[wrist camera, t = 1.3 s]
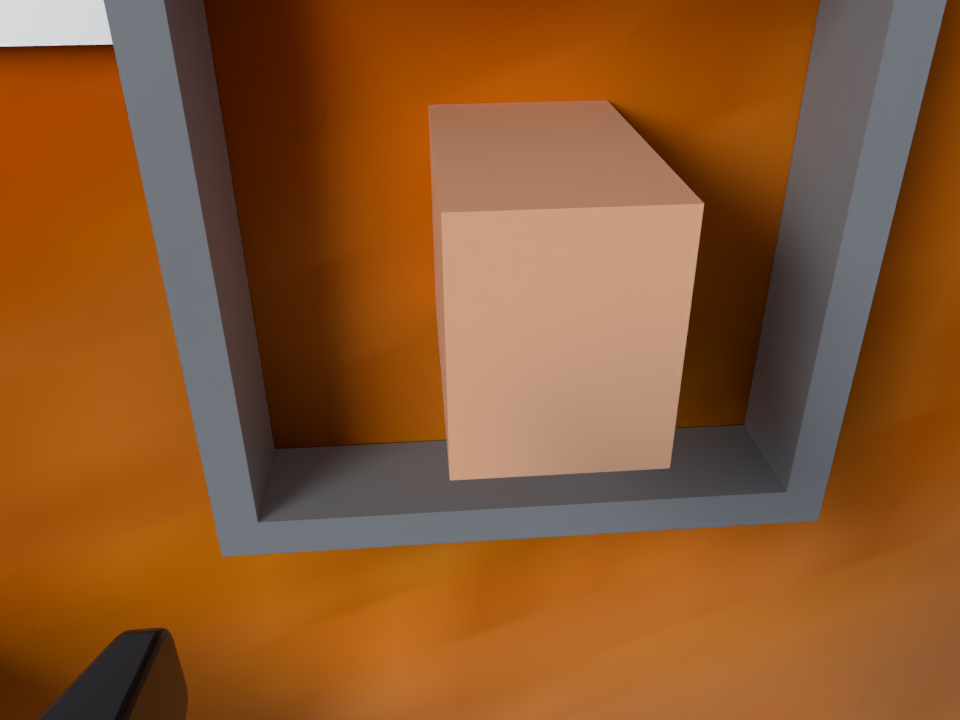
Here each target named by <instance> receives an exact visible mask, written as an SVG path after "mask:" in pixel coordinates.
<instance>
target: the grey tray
mask: <svg viewBox="0 0 960 720" xmlns="http://www.w3.org/2000/svg"><path fill="white" fill-rule="evenodd" d="M946 2H947V0H820V3H819V9H818V14H817V20H816V26H815V31H814V37H813V42H812V48H811V54H810V59H809V65H808V71H807V76H806V82H805V87H804V93H803V99H802V104H801V110H800V115H799V121H798V127H797V132H796V138H795V143H794V149H793V155H792V160H791V166H790V172H789V177H788V183H787V188H786V194H785V200H784V205H783V211H782V216H781V222H780V228H779V233H778V239H777V244H776V250H775V256H774V261H773V267H772V273H771V278H770V284H769V289H768V295H767V301H766V306H765V312H764V317H763V323H762V329H761V334H760V340H759V345H758V351H757V357H756V362H755V368H754V374H753V379H752V385H751V390H750V396H749V402H748V407H747V413H746V418H745V424H744V425H730V426H710V427H691V428H675V432H674V440H673V448H672V455H671V463H670V468H667V469H649V470H631V471H613V472H595V473H577V474H559V475H541V476H523V477H505V478H487V479H469V480H451V481H450V479H449V466H448V453H447V441H446V440H442V441H423V442H404V443H385V444H365V445H346V446H327V447H308V448H289V449H274V442H273V436H272V430H271V423H270V417H269V411H268V404H267V398H266V392H265V385H264V379H263V373H262V366H261V360H260V354H259V348H258V341H257V335H256V329H255V322H254V316H253V310H252V303H251V297H250V291H249V284H248V278H247V272H246V265H245V259H244V253H243V246H242V240H241V234H240V228H239V221H238V215H237V209H236V202H235V196H234V190H233V183H232V177H231V171H230V164H229V158H228V152H227V145H226V139H225V133H224V127H223V120H222V114H221V108H220V101H219V95H218V89H217V82H216V76H215V70H214V63H213V57H212V51H211V44H210V38H209V32H208V25H207V19H206V13H205V7H204V0H104V4H105V9H106V14H107V18H108V23H109V28H110V33H111V37H112V42H113V47H114V51H115V56H116V61H117V65H118V70H119V75H120V80H121V84H122V89H123V94H124V98H125V103H126V108H127V112H128V117H129V122H130V126H131V131H132V136H133V141H134V145H135V150H136V155H137V159H138V164H139V169H140V173H141V178H142V183H143V188H144V192H145V197H146V202H147V206H148V211H149V216H150V220H151V225H152V230H153V235H154V239H155V244H156V249H157V253H158V258H159V263H160V267H161V272H162V277H163V282H164V286H165V291H166V296H167V300H168V305H169V310H170V314H171V319H172V324H173V328H174V333H175V338H176V343H177V347H178V352H179V357H180V361H181V366H182V371H183V375H184V380H185V385H186V390H187V394H188V399H189V404H190V408H191V413H192V418H193V422H194V427H195V432H196V437H197V441H198V446H199V451H200V455H201V460H202V465H203V469H204V474H205V479H206V483H207V488H208V493H209V498H210V502H211V507H212V512H213V516H214V521H215V526H216V530H217V535H218V540H219V545H220V549H221V554H222V557H224V556H241V555H258V554H274V553H291V552H307V551H324V550H341V549H357V548H374V547H391V546H407V545H424V544H441V543H457V542H474V541H491V540H507V539H524V538H540V537H557V536H574V535H590V534H607V533H624V532H640V531H657V530H674V529H690V528H707V527H724V526H740V525H757V524H773V523H790V522H807V521H818V519H819V515H820V511H821V507H822V503H823V499H824V495H825V491H826V487H827V483H828V478H829V474H830V470H831V466H832V462H833V458H834V454H835V450H836V446H837V442H838V438H839V434H840V430H841V426H842V422H843V418H844V414H845V410H846V406H847V402H848V398H849V394H850V390H851V386H852V381H853V377H854V373H855V369H856V365H857V361H858V357H859V353H860V349H861V345H862V341H863V337H864V333H865V329H866V325H867V321H868V317H869V313H870V309H871V305H872V301H873V297H874V293H875V289H876V284H877V280H878V276H879V272H880V268H881V264H882V260H883V256H884V252H885V248H886V244H887V240H888V236H889V232H890V228H891V224H892V220H893V216H894V212H895V208H896V204H897V200H898V196H899V192H900V188H901V183H902V179H903V175H904V171H905V167H906V163H907V159H908V155H909V151H910V147H911V143H912V139H913V135H914V131H915V127H916V123H917V119H918V115H919V111H920V107H921V103H922V99H923V95H924V91H925V86H926V82H927V78H928V74H929V70H930V66H931V62H932V58H933V54H934V50H935V46H936V42H937V38H938V34H939V30H940V26H941V22H942V18H943V14H944V10H945V6H946Z"/></svg>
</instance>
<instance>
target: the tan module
mask: <svg viewBox="0 0 960 720" xmlns="http://www.w3.org/2000/svg"><path fill="white" fill-rule="evenodd" d="M429 132H430V159H431V186H432V213H433V240H434V267H435V294H436V314H437V327H438V340H439V352H440V365H441V377H442V390H443V403H444V415H445V428H446V441H447V453H448V466H449V479H450V481H451V480H469V479H487V478H505V477H523V476H541V475H559V474H577V473H595V472H613V471H631V470H649V469H667V468H670V463H671V455H672V448H673V440H674V432H675V425H676V417H677V409H678V402H679V394H680V386H681V379H682V371H683V363H684V356H685V348H686V340H687V332H688V325H689V317H690V309H691V302H692V294H693V286H694V279H695V271H696V263H697V256H698V248H699V240H700V233H701V225H702V217H703V210H704V203H703V202H702V201H701V200H700V199H699V197H698V196H697V195H696V194H695V193H694V192H693V191H692V190H691V189H690V188H689V187H688V186H687V185H686V184H685V183H684V182H683V180H682V179H681V178H680V177H679V176H678V175H677V174H676V173H675V172H674V171H673V170H672V169H671V168H670V167H669V166H668V165H667V163H666V162H665V161H664V160H663V159H662V158H661V157H660V156H659V155H658V154H657V153H656V152H655V151H654V150H653V149H652V147H651V146H650V145H649V144H648V143H647V142H646V141H645V140H644V139H643V138H642V137H641V136H640V135H639V134H638V133H637V132H636V130H635V129H634V128H633V127H632V126H631V125H630V124H629V123H628V122H627V121H626V120H625V119H624V118H623V117H622V116H621V115H620V113H619V112H618V111H617V110H616V109H615V108H614V107H613V106H612V105H611V104H610V103H609V102H608V101H607V100H597V101H558V102H519V103H480V104H441V105H429Z"/></svg>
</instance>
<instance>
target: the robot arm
mask: <svg viewBox="0 0 960 720" xmlns="http://www.w3.org/2000/svg"><path fill="white" fill-rule="evenodd" d="M187 703H188V694H187V686H186V681H185V678H184V675H183V671H182V668H181V664H180V661H179V657H178V654H177V651H176V647H175V644H174V640H173V637H172V635H171V633H170V632H169V631H168V630H167V629H164V628H150V629H136V630H128V631H125V632H123V633H121V634H120V635H118V636H117V637H116V638H115V639H114V640H113V641H112V642H111V643H110V644H109V645H108V646H107V647H106V648H105V649H104V650H103V652H102V653H101V654H100V655H99V656H98V657H97V658H96V659H95V660H94V661H93V662H92V663H91V664H90V665H89V666H88V667H87V668H86V669H85V670H84V671H83V672H82V673H81V674H80V675H79V677H78V678H77V679H76V680H75V681H74V682H73V683H72V684H71V685H70V686H69V687H68V688H67V689H66V690H65V691H64V692H63V693H62V694H61V695H60V696H59V697H58V698H57V699H56V700H55V702H54V703H53V704H52V705H51V706H50V707H49V708H48V709H47V710H46V711H45V712H44V713H43V714H42V715H41V716H40V717H39V718H38V719H37V720H186V714H187Z"/></svg>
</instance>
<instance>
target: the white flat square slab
mask: <svg viewBox="0 0 960 720" xmlns="http://www.w3.org/2000/svg"><path fill="white" fill-rule="evenodd" d="M106 44H113V42H112V37H111V33H110V28H109V23H108V18H107V14H106V9H105V4H104V0H0V47H12V46H59V45H106Z"/></svg>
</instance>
